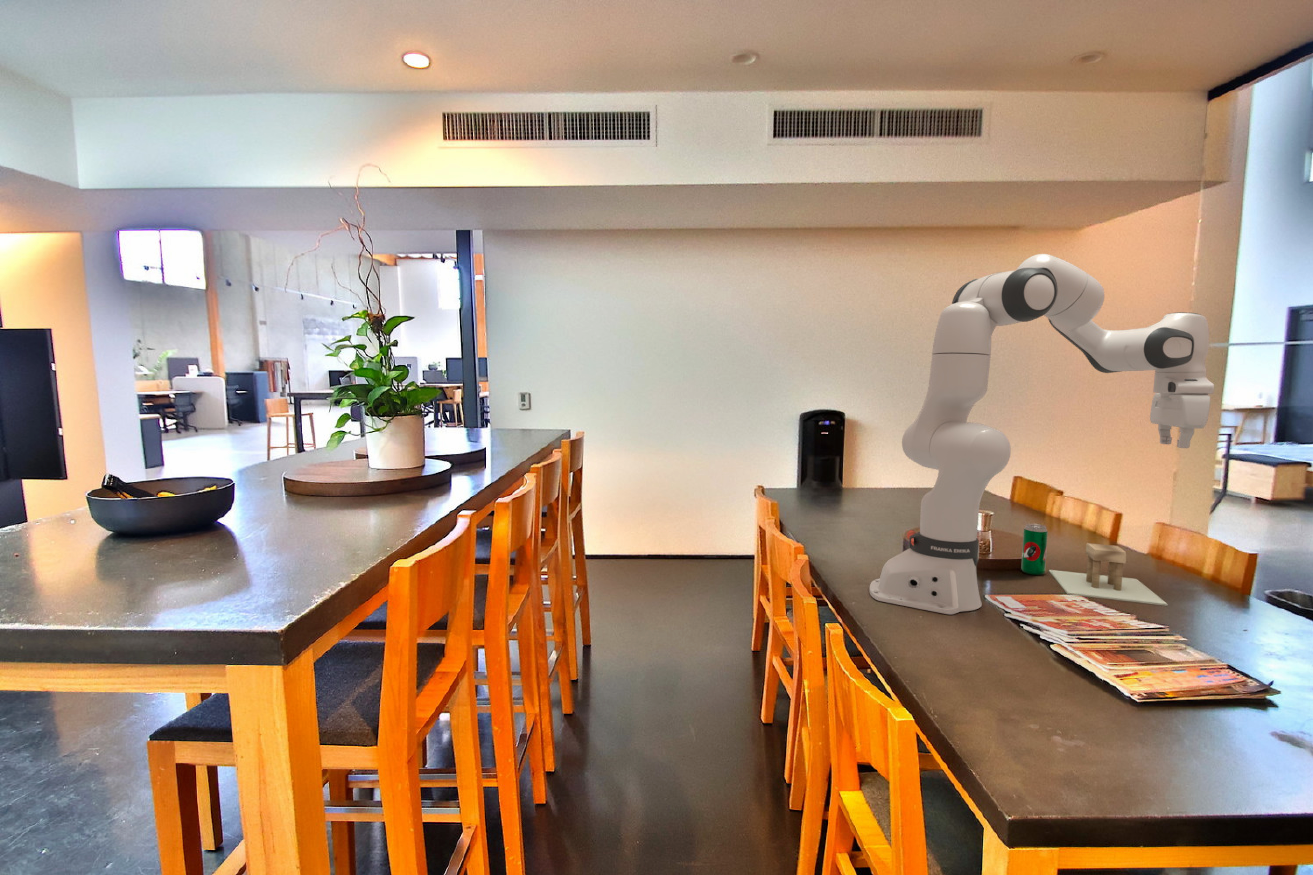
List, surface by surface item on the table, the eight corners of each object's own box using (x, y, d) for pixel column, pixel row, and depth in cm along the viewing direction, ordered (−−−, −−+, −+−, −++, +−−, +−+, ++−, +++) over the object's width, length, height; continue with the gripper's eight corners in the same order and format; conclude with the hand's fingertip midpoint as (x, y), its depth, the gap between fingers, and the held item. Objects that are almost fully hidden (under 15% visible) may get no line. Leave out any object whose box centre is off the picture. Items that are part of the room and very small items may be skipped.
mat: (1067, 594, 133) (1067, 592, 133) (1048, 571, 150) (1048, 569, 150) (1167, 605, 127) (1167, 604, 127) (1136, 580, 143) (1136, 578, 143)
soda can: (1048, 576, 146) (1051, 528, 145) (1025, 575, 147) (1028, 527, 146) (1039, 570, 151) (1042, 523, 150) (1017, 568, 152) (1020, 522, 151)
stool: (1091, 587, 137) (1094, 549, 136) (1084, 579, 142) (1086, 543, 141) (1123, 591, 134) (1126, 552, 133) (1114, 583, 140) (1117, 545, 139)
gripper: (1144, 385, 146) (1139, 441, 147) (1180, 385, 127) (1175, 449, 128) (1176, 385, 143) (1171, 442, 144) (1218, 385, 124) (1212, 451, 126)
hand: (1173, 446), depth 136 cm, fingers open, 8 cm apart
